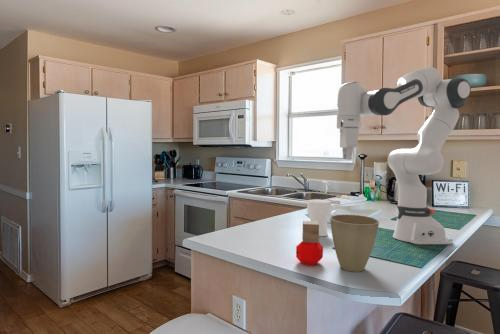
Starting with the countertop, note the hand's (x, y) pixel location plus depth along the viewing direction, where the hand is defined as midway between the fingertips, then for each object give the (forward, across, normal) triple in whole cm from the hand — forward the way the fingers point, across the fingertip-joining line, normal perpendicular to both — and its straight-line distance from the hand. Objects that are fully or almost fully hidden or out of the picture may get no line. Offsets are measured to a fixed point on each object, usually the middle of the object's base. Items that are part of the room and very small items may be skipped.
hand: (347, 159), depth 137 cm
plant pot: (+34, +28, -1) cm, 44 cm away
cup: (+34, -15, -9) cm, 39 cm away
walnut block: (+27, +25, -15) cm, 39 cm away
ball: (+34, +25, -15) cm, 45 cm away
